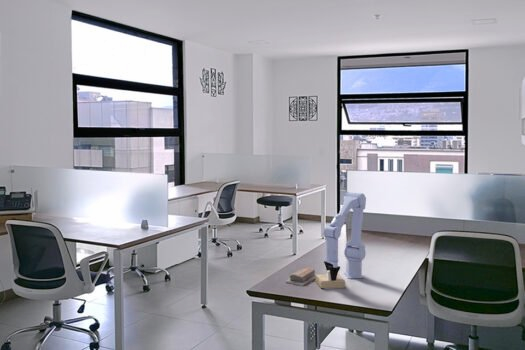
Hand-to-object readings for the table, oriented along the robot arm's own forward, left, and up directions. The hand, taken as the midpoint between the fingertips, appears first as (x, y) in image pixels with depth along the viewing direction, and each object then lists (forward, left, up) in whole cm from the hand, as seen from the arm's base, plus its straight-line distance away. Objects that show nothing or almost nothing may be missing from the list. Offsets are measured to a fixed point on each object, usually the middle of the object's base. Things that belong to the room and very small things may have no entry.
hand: (331, 278), depth 246 cm
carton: (-3, 0, -4) cm, 5 cm away
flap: (0, 0, -1) cm, 1 cm away
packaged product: (-13, -12, -5) cm, 18 cm away
